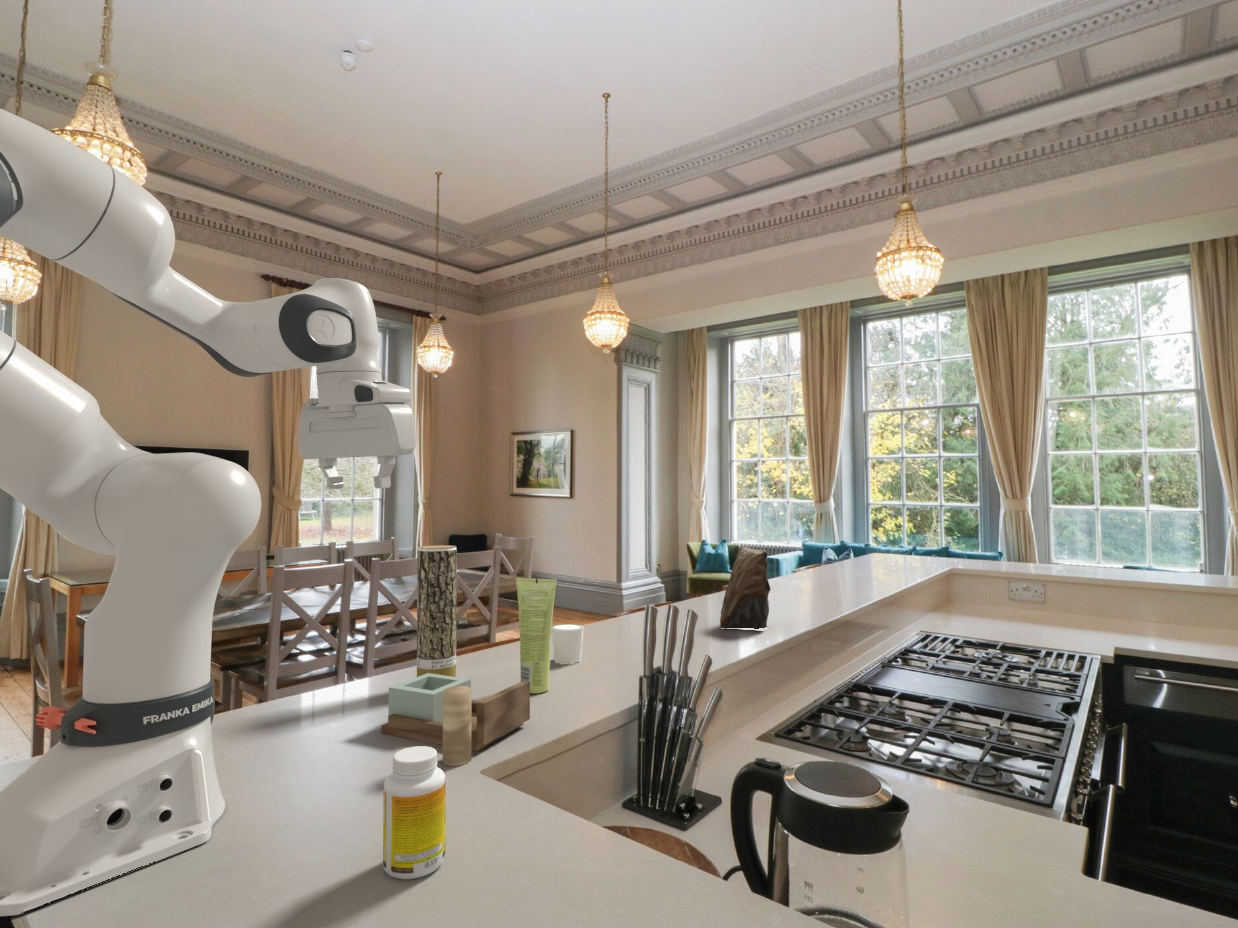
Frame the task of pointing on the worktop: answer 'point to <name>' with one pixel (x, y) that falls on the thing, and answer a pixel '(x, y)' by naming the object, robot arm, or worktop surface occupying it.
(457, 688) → the dowel
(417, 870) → the supplement bottle
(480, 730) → the wooden tray
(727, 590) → the brown rock
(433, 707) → the socket block
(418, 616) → the paper tube
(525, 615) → the tube
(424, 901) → the worktop surface
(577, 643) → the white short cylinder
